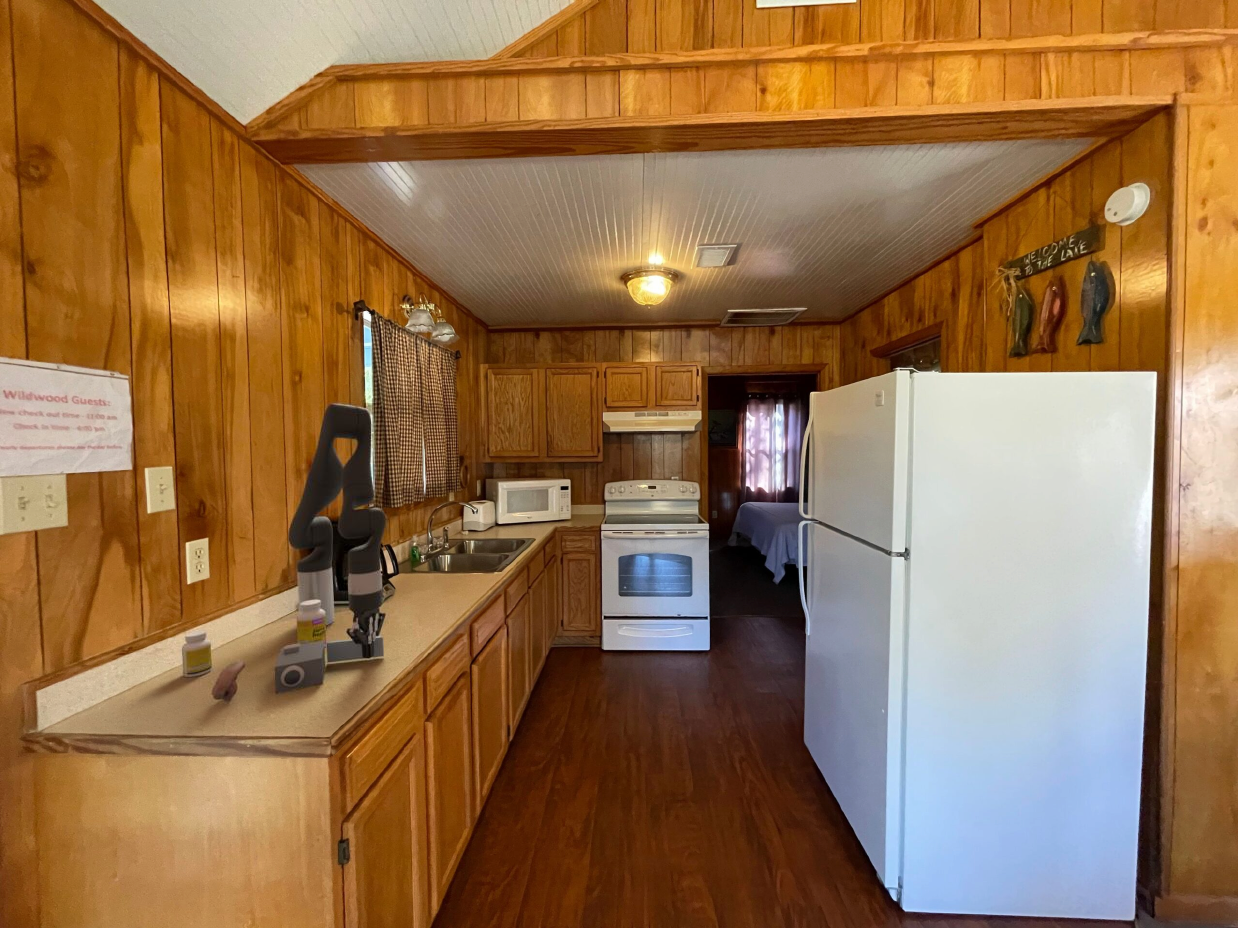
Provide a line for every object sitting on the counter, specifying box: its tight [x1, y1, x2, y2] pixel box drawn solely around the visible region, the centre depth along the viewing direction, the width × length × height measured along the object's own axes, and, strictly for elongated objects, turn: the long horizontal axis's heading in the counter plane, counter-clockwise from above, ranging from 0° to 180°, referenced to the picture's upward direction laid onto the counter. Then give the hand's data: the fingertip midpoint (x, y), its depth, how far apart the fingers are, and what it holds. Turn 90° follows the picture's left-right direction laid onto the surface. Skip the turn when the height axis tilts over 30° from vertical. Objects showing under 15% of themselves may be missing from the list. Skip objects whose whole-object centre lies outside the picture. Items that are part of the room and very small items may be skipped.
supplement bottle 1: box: [181, 630, 213, 678], centre depth 122 cm, size 5×5×10 cm
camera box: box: [274, 641, 326, 694], centre depth 117 cm, size 14×9×7 cm, turn 28°
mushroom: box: [211, 660, 246, 704], centre depth 108 cm, size 8×6×8 cm
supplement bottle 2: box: [296, 600, 327, 647], centre depth 135 cm, size 7×7×13 cm
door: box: [326, 635, 385, 664], centre depth 127 cm, size 13×1×5 cm, turn 103°
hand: (368, 657), depth 124 cm, fingers closed
